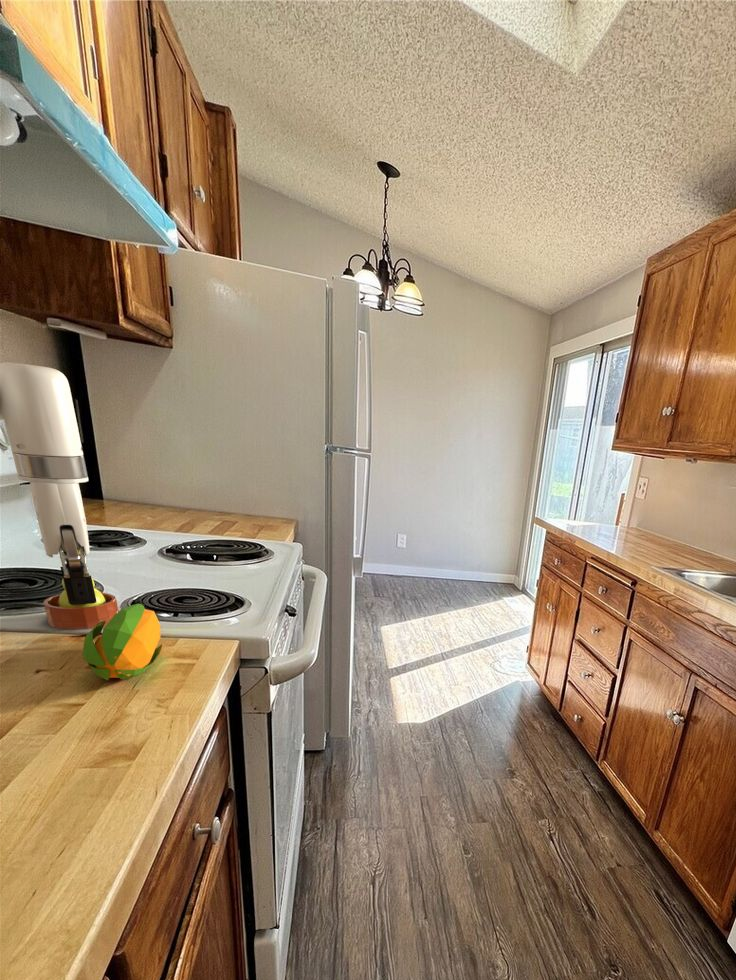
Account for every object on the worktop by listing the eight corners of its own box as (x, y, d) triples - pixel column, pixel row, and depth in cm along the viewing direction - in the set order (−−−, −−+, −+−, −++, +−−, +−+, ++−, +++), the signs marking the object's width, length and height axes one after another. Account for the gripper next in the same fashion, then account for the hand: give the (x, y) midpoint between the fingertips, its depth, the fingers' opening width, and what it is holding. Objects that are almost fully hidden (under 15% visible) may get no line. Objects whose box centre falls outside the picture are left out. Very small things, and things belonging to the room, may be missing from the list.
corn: (64, 634, 63) (113, 586, 80) (73, 694, 66) (119, 635, 83) (141, 637, 66) (172, 590, 83) (146, 695, 69) (176, 637, 86)
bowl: (52, 641, 79) (44, 611, 77) (49, 622, 85) (42, 594, 83) (124, 633, 84) (119, 605, 82) (117, 616, 90) (112, 589, 88)
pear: (64, 629, 80) (49, 568, 77) (62, 617, 84) (48, 558, 80) (111, 624, 84) (99, 565, 80) (107, 613, 88) (95, 557, 84)
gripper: (15, 460, 79) (46, 584, 86) (15, 475, 67) (52, 618, 74) (81, 462, 83) (105, 581, 91) (92, 477, 71) (119, 612, 79)
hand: (81, 596), depth 82 cm, fingers closed on pear, 5 cm apart
